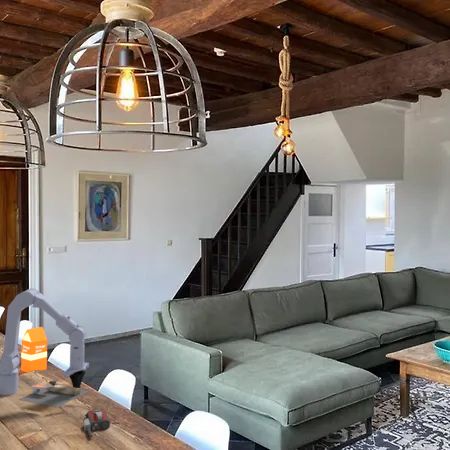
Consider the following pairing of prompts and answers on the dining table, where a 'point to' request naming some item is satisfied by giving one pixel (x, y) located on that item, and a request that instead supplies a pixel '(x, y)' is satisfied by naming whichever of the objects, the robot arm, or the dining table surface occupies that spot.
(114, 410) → the dining table surface
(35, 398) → the board
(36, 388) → the block
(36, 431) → the dining table surface
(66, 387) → the link
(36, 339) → the orange juice
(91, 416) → the walkie-talkie
